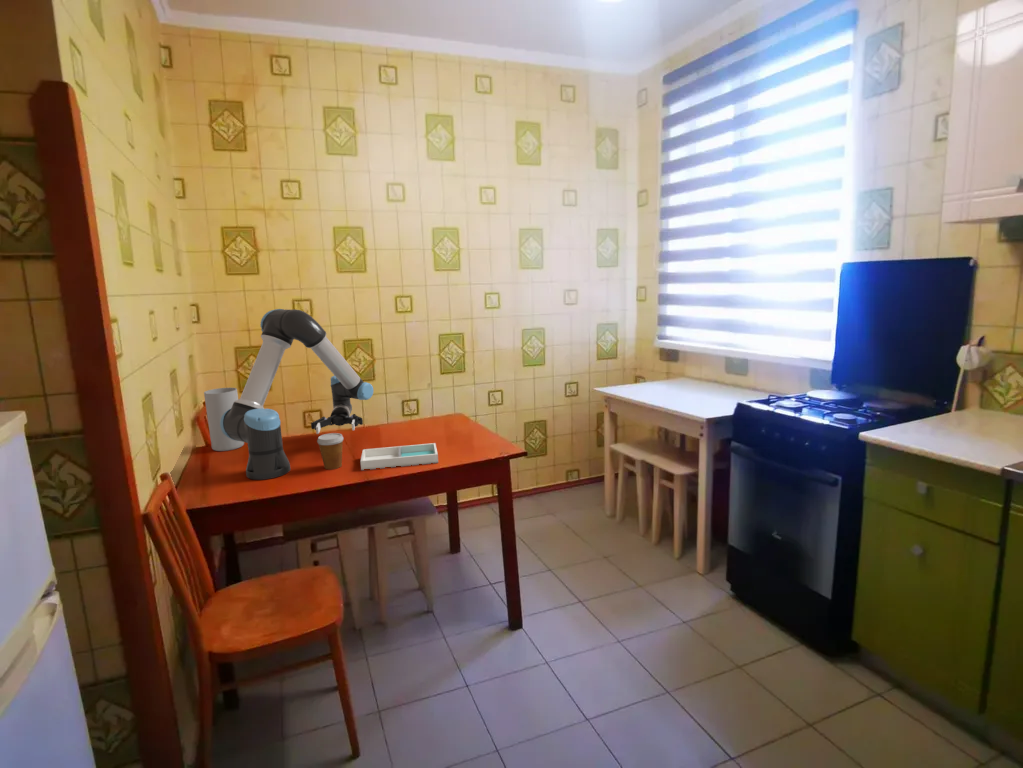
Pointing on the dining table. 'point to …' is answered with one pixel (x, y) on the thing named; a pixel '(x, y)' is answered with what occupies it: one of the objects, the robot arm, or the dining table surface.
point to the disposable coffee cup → (331, 450)
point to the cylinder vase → (216, 407)
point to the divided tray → (399, 456)
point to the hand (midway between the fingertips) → (335, 428)
